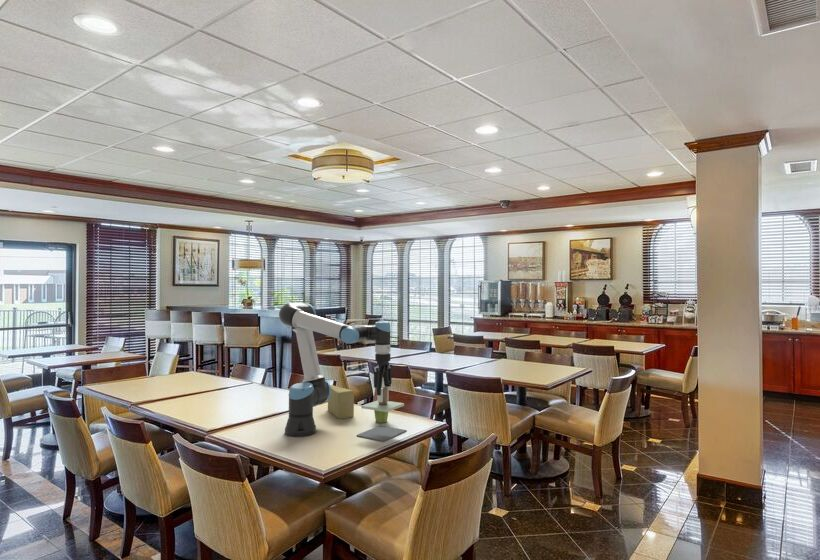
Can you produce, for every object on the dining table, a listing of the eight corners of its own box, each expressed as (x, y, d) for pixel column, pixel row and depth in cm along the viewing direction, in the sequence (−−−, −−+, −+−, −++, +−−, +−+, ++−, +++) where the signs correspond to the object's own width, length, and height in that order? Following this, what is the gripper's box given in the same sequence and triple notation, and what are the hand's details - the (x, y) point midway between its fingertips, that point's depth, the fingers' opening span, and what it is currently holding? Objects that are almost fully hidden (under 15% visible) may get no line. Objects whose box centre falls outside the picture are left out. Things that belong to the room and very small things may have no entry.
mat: (383, 441, 219) (383, 440, 219) (356, 436, 228) (356, 435, 228) (406, 431, 236) (406, 430, 236) (380, 426, 245) (380, 425, 245)
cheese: (321, 411, 275) (321, 385, 276) (336, 408, 281) (336, 383, 281) (338, 419, 257) (338, 392, 258) (354, 417, 263) (354, 389, 263)
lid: (387, 412, 222) (387, 392, 222) (361, 408, 230) (361, 389, 230) (404, 405, 235) (404, 387, 235) (379, 402, 242) (379, 384, 243)
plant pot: (372, 419, 258) (372, 403, 259) (389, 419, 259) (390, 403, 259) (372, 424, 249) (372, 407, 249) (390, 423, 250) (390, 407, 250)
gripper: (378, 355, 224) (378, 405, 223) (398, 351, 238) (398, 398, 238) (366, 354, 227) (366, 403, 227) (386, 350, 242) (386, 396, 242)
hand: (382, 400), depth 232 cm, fingers closed on lid, 4 cm apart
